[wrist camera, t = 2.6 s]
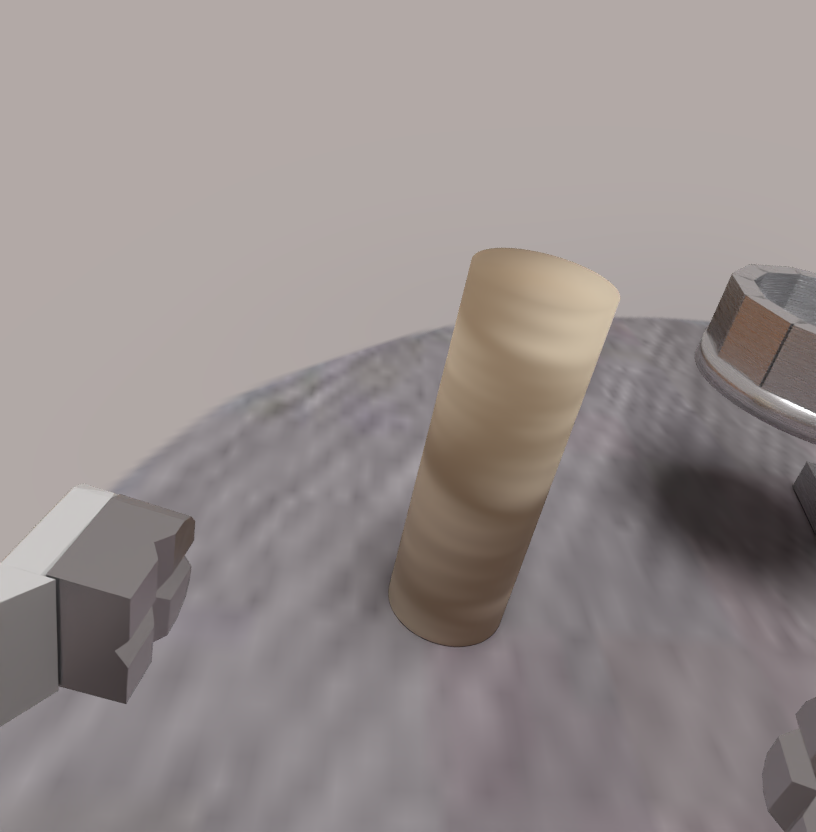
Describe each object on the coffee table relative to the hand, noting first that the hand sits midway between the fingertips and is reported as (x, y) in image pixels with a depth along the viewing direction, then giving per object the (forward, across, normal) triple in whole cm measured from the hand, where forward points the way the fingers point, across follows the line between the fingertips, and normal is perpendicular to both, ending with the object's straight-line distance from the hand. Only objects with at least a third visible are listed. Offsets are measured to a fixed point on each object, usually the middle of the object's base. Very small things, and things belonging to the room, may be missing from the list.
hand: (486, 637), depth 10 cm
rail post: (+12, -1, +11) cm, 17 cm away
